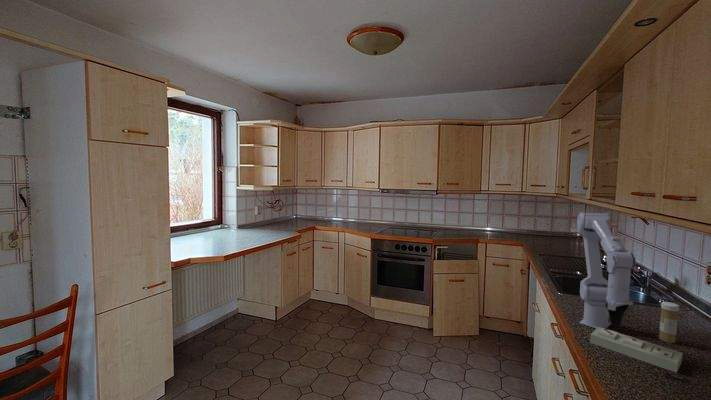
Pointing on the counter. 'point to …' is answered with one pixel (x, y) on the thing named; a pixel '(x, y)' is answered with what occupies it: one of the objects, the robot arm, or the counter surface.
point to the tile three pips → (608, 333)
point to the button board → (638, 351)
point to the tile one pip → (634, 342)
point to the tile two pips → (662, 352)
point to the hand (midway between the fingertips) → (615, 324)
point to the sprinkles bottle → (668, 322)
